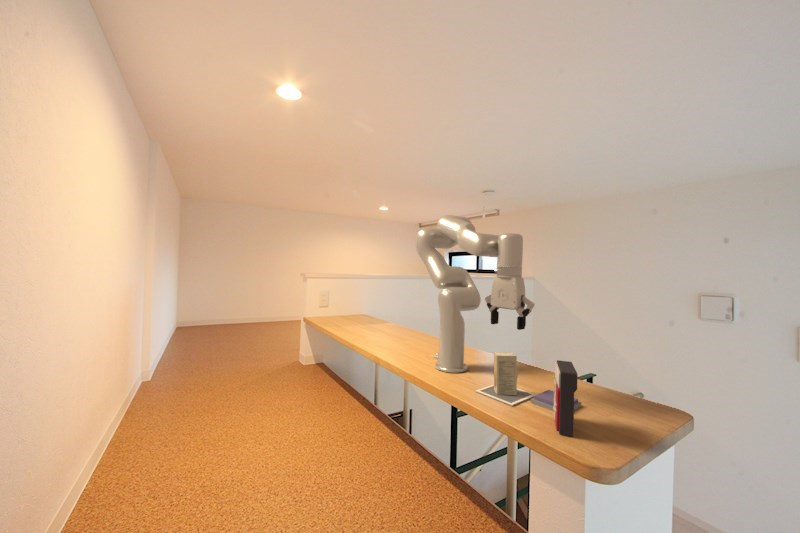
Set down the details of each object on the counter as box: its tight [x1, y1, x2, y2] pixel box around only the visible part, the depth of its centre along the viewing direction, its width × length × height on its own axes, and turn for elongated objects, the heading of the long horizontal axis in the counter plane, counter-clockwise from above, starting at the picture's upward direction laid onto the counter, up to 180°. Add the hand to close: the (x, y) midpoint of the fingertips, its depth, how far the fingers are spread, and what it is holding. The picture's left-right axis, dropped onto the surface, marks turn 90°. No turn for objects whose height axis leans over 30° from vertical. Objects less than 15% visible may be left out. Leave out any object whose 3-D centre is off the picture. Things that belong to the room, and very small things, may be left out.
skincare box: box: [493, 351, 518, 395], centre depth 101 cm, size 6×4×12 cm
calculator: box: [553, 360, 578, 438], centre depth 81 cm, size 11×4×15 cm, turn 159°
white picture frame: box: [475, 384, 537, 407], centre depth 101 cm, size 13×13×1 cm
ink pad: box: [529, 389, 582, 412], centre depth 94 cm, size 10×10×2 cm
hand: (507, 326), depth 103 cm, fingers open, 9 cm apart
